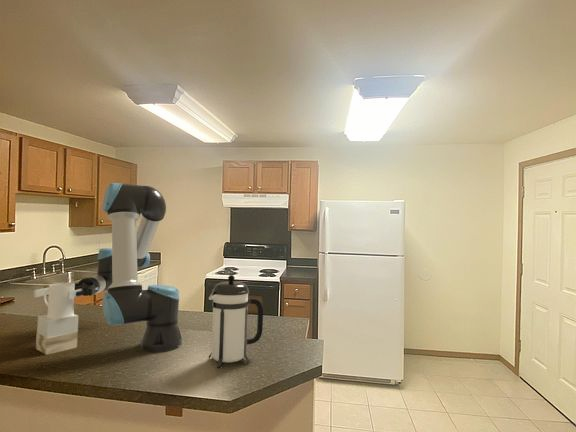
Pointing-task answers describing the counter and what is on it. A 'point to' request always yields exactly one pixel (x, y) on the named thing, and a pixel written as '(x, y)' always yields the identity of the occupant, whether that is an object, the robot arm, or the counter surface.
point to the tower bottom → (56, 343)
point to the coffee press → (232, 322)
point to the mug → (59, 301)
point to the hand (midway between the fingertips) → (51, 294)
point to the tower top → (57, 326)
